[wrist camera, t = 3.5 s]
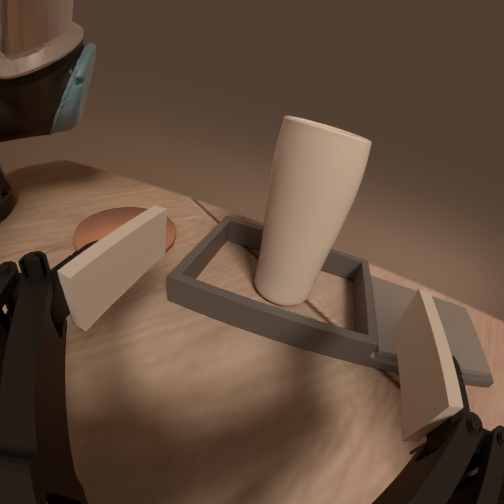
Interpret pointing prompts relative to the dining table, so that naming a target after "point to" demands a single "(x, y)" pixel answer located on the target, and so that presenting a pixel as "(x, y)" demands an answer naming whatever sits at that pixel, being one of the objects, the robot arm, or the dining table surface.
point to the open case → (316, 332)
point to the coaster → (113, 226)
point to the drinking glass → (306, 205)
